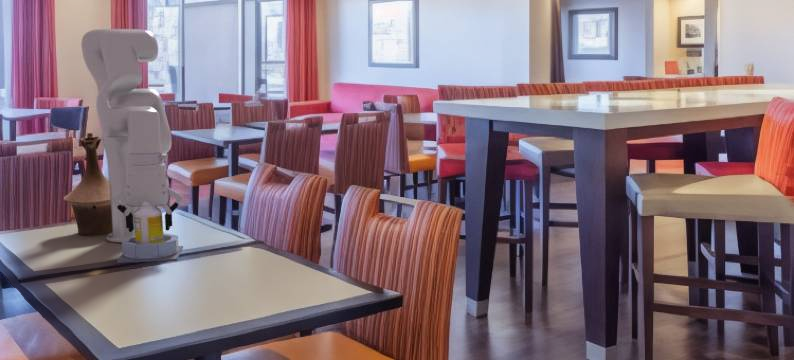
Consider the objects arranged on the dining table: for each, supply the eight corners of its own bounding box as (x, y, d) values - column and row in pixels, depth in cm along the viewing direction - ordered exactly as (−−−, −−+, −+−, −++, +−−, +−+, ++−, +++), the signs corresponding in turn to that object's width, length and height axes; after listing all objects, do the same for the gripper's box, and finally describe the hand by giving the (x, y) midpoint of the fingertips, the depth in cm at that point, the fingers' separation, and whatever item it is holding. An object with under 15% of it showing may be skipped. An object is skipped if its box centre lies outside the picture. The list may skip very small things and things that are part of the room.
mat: (126, 249, 209) (126, 248, 209) (183, 247, 212) (182, 245, 212) (116, 263, 196) (116, 261, 196) (177, 260, 198) (177, 258, 198)
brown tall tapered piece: (64, 229, 236) (57, 131, 232) (126, 223, 243) (120, 129, 239) (68, 241, 220) (60, 137, 216) (134, 234, 227) (127, 133, 223)
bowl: (128, 248, 209) (127, 234, 208) (180, 246, 211) (180, 232, 210) (119, 260, 196) (118, 246, 196) (175, 258, 198) (174, 243, 198)
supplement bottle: (168, 247, 206) (165, 196, 205) (158, 253, 200) (155, 201, 198) (142, 246, 207) (139, 196, 205) (131, 253, 201) (128, 201, 199)
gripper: (183, 157, 205) (187, 225, 208) (111, 159, 203) (115, 228, 205) (180, 160, 198) (184, 231, 200) (105, 162, 195) (110, 234, 198)
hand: (149, 229), depth 203 cm, fingers open, 8 cm apart
